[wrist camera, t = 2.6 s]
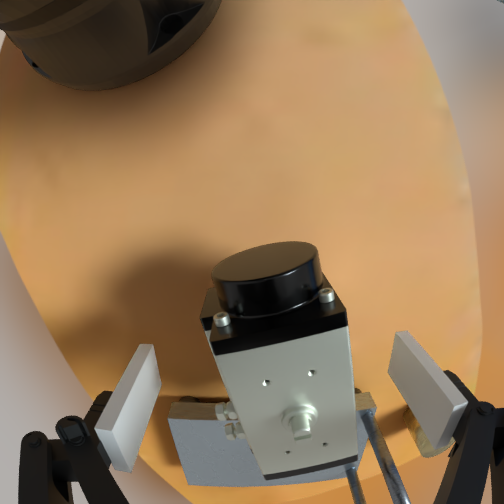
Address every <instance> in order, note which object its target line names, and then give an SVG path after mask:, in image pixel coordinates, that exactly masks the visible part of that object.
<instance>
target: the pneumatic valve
mask: <svg viewBox="0 0 504 504" xmlns="http://www.w3.org/2000/svg"><path fill="white" fill-rule="evenodd" d="M211 276H212V280H213V283H214V286H215V287H214V288H210V289H208V291H207V295H206V298H205V301H204V305H203V308H202V311H201V315H200V320H201V323H202V326H203V329H204V331H205V334H206V337H207V340H208V343H209V346H210V348H211V351H212V354H213V356H214V359H215V362H216V365H217V367H218V370H219V373H220V375H221V378H222V380H223V383H224V386H225V388H226V391H227V393H228V396H229V398H230V401H229V402H227V405H225V403H224V402H220V403H217V404H216V405H215V412H216V416H217V418H218V420H220V421H225V420H227V418H228V416H229V418H230V419H237V418H238V421H239V422H237V423H236V424H235V426H234V424H233V423H228V424H226V425H225V435H226V438H227V439H228V440H230V441H231V440H235V439H236V435H237V437H238V438H239V439H245V438H246V440H247V442H248V444H249V447H250V449H251V451H252V454H254V456H255V458H256V461H257V463H258V465H259V468H260V470H261V472H262V474H263V476H264V479H265V480H274V479H280V478H286V477H291V476H297V475H302V474H307V473H311V472H316V471H320V470H325V469H329V468H333V467H337V466H341V465H344V464H348V463H352V462H355V461H357V460H358V444H357V421H356V404H355V390H354V378H353V366H352V356H351V346H350V337H349V328H348V320H347V312H346V308H345V307H344V305H343V304H342V302H341V300H340V299H339V297H338V296H337V294H336V293H335V291H334V289H333V288H332V286H331V285H330V283H329V282H328V280H327V279H326V277H325V275H324V274H323V272H322V270H321V265H320V259H319V254H318V250H317V248H316V247H315V246H314V245H312V244H310V243H306V242H297V241H290V242H279V243H272V244H267V245H262V246H258V247H254V248H251V249H248V250H245V251H242V252H239V253H237V254H234V255H232V256H230V257H228V258H226V259H225V260H223V261H221V262H220V263H219V264H218V265H216V266H215V268H214V269H213V271H212V274H211ZM226 406H227V407H226Z"/></svg>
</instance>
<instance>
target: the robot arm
mask: <svg viewBox="0 0 504 504" xmlns="http://www.w3.org/2000/svg"><path fill="white" fill-rule="evenodd" d="M497 1H500V2H502V3H504V0H497ZM220 3H221V0H0V29H1V30H3V31H4V32H5V33H6V35H7V36H8V37H9V38H10V40H11V41H12V42H13V43H14V44H15V45H16V46H17V47H18V48H19V49H21V50H22V52H23V55H24V56H25V58H26V60H27V61H28V63H29V64H30V65H31V66H32V68H33V69H34V70H35V71H36V72H37V73H39V74H40V75H42V76H43V77H45V78H46V79H48V80H50V81H53V82H55V83H58V84H61V85H64V86H67V87H70V88H73V89H78V90H87V91H97V90H106V89H112V88H116V87H121V86H124V85H127V84H130V83H133V82H136V81H138V80H140V79H143V78H145V77H147V76H149V75H151V74H153V73H154V72H156V71H158V70H160V69H161V68H163V67H165V66H166V65H168V64H169V63H171V62H172V61H173V60H175V59H176V58H177V57H179V56H180V55H181V54H182V53H184V52H185V51H186V50H187V49H188V48H189V47H190V46H191V45H192V44H193V43H194V42H195V41H196V40H197V39H198V38H199V37H200V36H201V35H202V33H203V32H204V31H205V30H206V28H207V27H208V26H209V24H210V23H211V21H212V19H213V18H214V16H215V14H216V12H217V10H218V8H219V6H220ZM388 374H389V375H390V377H391V378H392V380H393V382H394V383H395V385H396V386H397V388H398V390H399V391H400V393H401V394H402V396H403V398H404V399H405V401H406V403H407V404H408V406H409V408H410V409H411V411H412V413H413V414H414V416H415V418H416V419H417V421H418V423H419V424H420V426H421V428H422V429H423V431H424V433H425V434H426V436H427V438H428V439H429V441H430V443H431V445H432V446H433V448H434V450H436V449H439V448H442V447H444V446H447V445H448V444H449V442H450V440H451V438H452V437H453V438H454V440H455V441H456V442H455V444H454V446H453V448H452V450H451V452H450V453H449V455H448V457H450V459H449V462H448V465H447V468H446V471H445V474H444V477H443V480H442V482H441V485H440V488H439V491H438V493H437V496H436V498H435V501H434V503H433V504H481V500H482V496H483V492H484V488H485V484H486V479H487V474H488V469H489V464H490V469H491V485H492V504H504V408H495V407H494V406H493V405H492V404H490V403H488V402H483V401H481V402H479V401H478V400H477V399H476V397H475V396H474V395H473V394H472V393H471V392H470V390H469V389H468V388H467V387H466V386H465V385H464V384H463V382H461V380H460V379H459V378H458V377H457V375H456V374H454V373H452V372H450V371H449V370H446V371H442V370H441V369H440V367H439V366H438V365H437V364H436V363H435V362H434V360H433V359H432V358H431V357H430V356H429V355H428V353H427V352H426V351H425V350H424V349H423V348H422V347H421V345H420V344H419V343H418V342H417V341H416V340H415V339H414V338H413V336H412V335H411V334H410V333H409V332H408V331H401V332H396V333H395V338H394V344H393V349H392V354H391V359H390V364H389V368H388ZM161 385H162V383H161V379H160V374H159V370H158V365H157V360H156V356H155V351H154V346H153V344H140V345H139V346H138V348H137V350H136V352H135V353H134V355H133V357H132V359H131V361H130V362H129V364H128V366H127V368H126V370H125V371H124V373H123V375H122V377H121V379H120V381H119V382H118V384H117V386H116V388H115V390H114V392H112V391H103V392H102V393H101V394H99V395H98V396H97V397H96V399H95V401H94V402H93V405H92V406H91V408H90V411H88V413H87V415H86V416H85V418H84V420H82V418H80V417H78V416H66V417H64V418H62V419H60V420H59V421H58V422H57V424H56V427H55V428H56V432H57V434H58V436H59V438H60V439H53V440H48V438H47V437H46V435H45V434H44V433H42V432H40V431H33V432H30V433H28V434H26V435H25V436H24V437H23V439H22V442H21V451H20V465H19V490H18V491H19V492H18V504H74V502H73V495H72V487H71V482H79V484H80V486H81V488H82V491H83V493H84V495H85V497H86V499H87V501H88V503H89V504H129V503H128V501H127V499H126V498H125V496H124V495H123V493H122V491H121V490H120V488H119V486H118V485H117V483H116V482H115V480H114V478H113V476H112V475H111V473H110V471H109V466H110V464H111V463H112V465H113V467H114V469H115V470H119V471H124V472H130V473H131V472H132V469H133V466H134V463H135V460H136V457H137V454H138V451H139V448H140V445H141V442H142V439H143V437H144V434H145V431H146V428H147V425H148V422H149V419H150V416H151V413H152V411H153V408H154V405H155V402H156V399H157V397H158V394H159V391H160V388H161Z"/></svg>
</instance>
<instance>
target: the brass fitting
mask: <svg viewBox="0 0 504 504" xmlns="http://www.w3.org/2000/svg"><path fill="white" fill-rule="evenodd" d="M403 420H404V422H405V424H406V426H407V428H408V430H409V432H410V434H411V436H412V437H413V439H414V441H415V443H416V445H417V447H418V449H419V451H420V453H421V455H422V456H423V457H426V458H429V457H434V456H436V455H438V454H440V453H442V452H443V451H445V450H447V449H448V448H449V447H450V446H451V445H452V444H453V443H454V442H455V440H454V438H453V437H452V438H451V440H450V442H449V444H448V445H447V446H444V447H442V448H439V449H436V450H434V448H433V446H432V445H431V443H430V441H429V439H428V438H427V436H426V434H425V433H424V431H423V429H422V428H421V426H420V424H419V423H418V421H417V419H416V418H415V416H414V414H413V413H412V411H411V409H410V408H409V407H408V408H407V409H406V411H405V413H404V415H403Z"/></svg>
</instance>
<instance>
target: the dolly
mask: <svg viewBox="0 0 504 504" xmlns="http://www.w3.org/2000/svg"><path fill="white" fill-rule="evenodd" d="M354 390H355V404H356V421H357V444H358V460H357V461H355V462H352V463H348V464H344V465H341V466H337V467H333V468H329V469H325V470H320V471H316V472H311V473H307V474H302V475H297V476H291V477H286V478H280V479H274V480H265V479H264V476H263V474H262V472H261V470H260V468H259V465H258V463H257V461H256V458H255V456H254V454H252V451H251V449H250V447H249V444H248V442H247V440H246V438H245V439H239V438H238V437H237V435H236V439H235V440H231V441H230V440H228V439H227V438H226V435H225V425H226V424H228V423H233V424H234V426H235V424H236V423H237V422H239V421H238V418H237V419H230V418H229V416H228V418H227V420H225V421H220V420H218V418H217V416H216V412H215V405H216V404H217V403H201V402H200V401H199V400H198V399H196V398H194V397H190V396H187V397H183V398H181V399H180V400H179V402H172V404H171V408H170V411H169V415H168V418H167V419H168V422H169V426H170V429H171V433H172V436H173V439H174V443H175V446H176V449H177V452H178V455H179V458H180V461H181V464H182V467H183V470H184V473H185V476H186V479H187V482H188V485H199V486H225V487H249V486H275V485H289V484H300V483H310V482H318V481H326V480H333V479H339V478H345V477H347V479H348V482H349V486H350V489H351V493H352V497H353V500H354V504H366V501H365V498H364V494H363V491H362V488H361V485H360V481H359V478H358V475H357V469H358V466H359V463H360V461H361V458H362V455H363V452H364V449H365V446H366V442H367V439H368V437H369V440H370V442H371V445H372V447H373V450H374V452H375V455H376V458H377V460H378V463H379V466H380V468H381V471H382V473H383V476H384V479H385V481H386V484H387V487H388V490H389V492H390V495H391V498H392V500H393V503H394V504H411V502H410V500H409V497H408V495H407V492H406V490H405V488H404V485H403V483H402V480H401V478H400V475H399V473H398V471H397V468H396V466H395V463H394V461H393V459H392V456H391V454H390V452H389V449H388V447H387V445H386V442H385V440H384V438H383V435H382V433H381V431H380V429H379V426H378V424H377V422H376V420H375V417H374V416H375V412H376V409H377V407H376V404H375V402H374V400H373V398H372V396H371V394H370V392H366V393H362V392H361V390H359V389H357V388H354ZM225 405H227V403H225ZM226 407H227V406H226Z"/></svg>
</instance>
